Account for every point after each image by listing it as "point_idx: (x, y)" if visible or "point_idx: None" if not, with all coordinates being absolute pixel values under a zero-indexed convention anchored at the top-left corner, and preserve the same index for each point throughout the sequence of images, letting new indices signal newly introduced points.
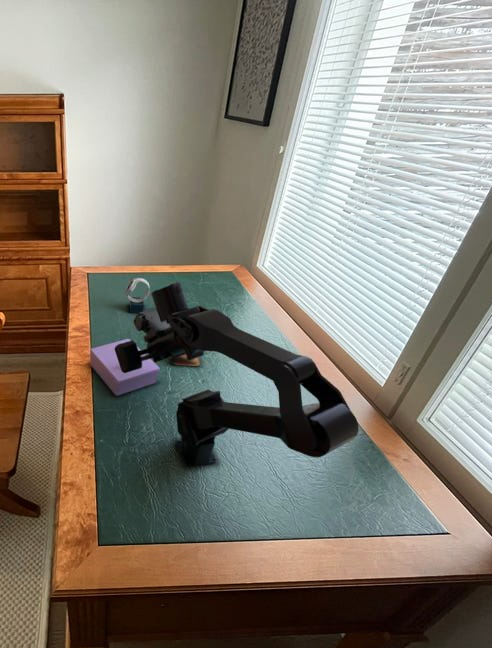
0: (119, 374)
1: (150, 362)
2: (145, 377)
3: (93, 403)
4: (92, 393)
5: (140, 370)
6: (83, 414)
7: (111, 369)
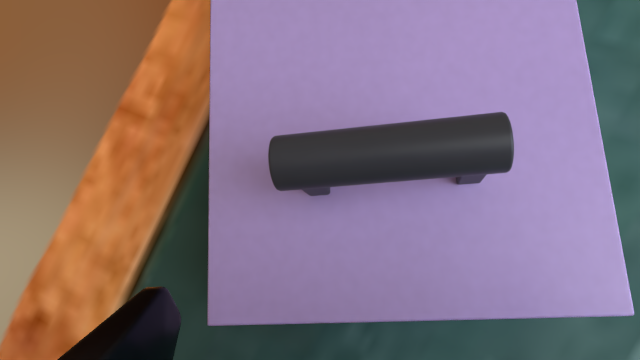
0: (251, 251)
1: (580, 202)
2: None
3: (128, 298)
4: (160, 222)
5: (434, 271)
6: (51, 354)
7: (229, 172)
